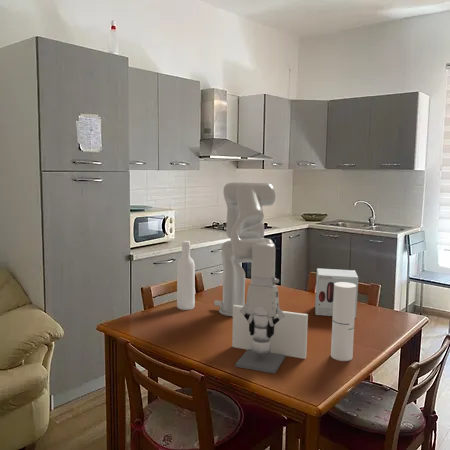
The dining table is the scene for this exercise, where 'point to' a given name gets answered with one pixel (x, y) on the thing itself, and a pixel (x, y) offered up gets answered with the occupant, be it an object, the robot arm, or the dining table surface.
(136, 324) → the dining table surface
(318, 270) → the supplement box
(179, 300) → the bottle
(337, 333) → the cylindrical container
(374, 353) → the dining table surface
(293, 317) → the screen
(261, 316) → the plastic bottle
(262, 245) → the robot arm
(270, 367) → the mat
